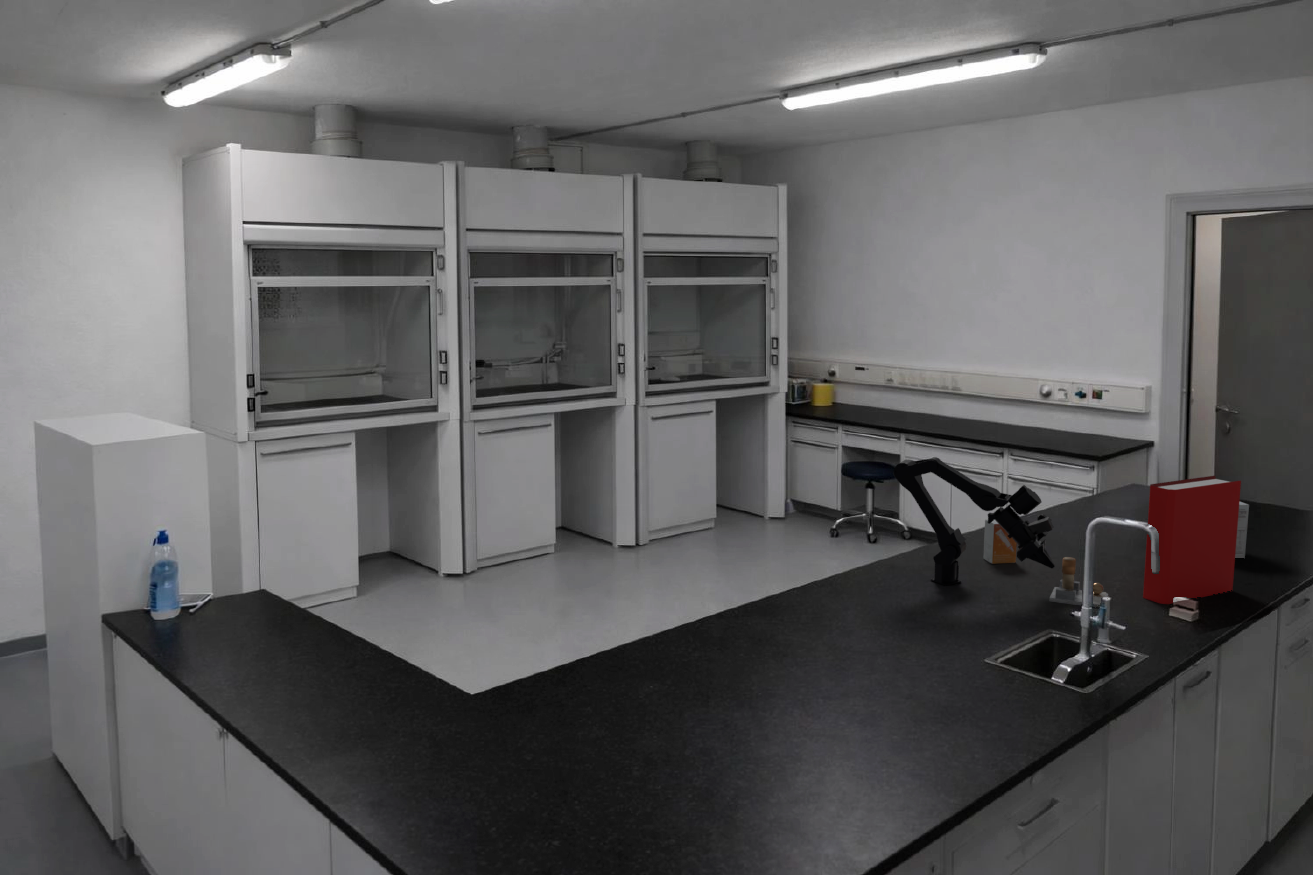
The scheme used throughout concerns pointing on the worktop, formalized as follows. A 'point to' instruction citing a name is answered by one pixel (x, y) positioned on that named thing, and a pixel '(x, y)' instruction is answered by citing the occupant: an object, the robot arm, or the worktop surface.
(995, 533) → the small box
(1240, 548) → the supplement box
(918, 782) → the worktop surface
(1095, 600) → the nutcracker base
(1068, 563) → the lever
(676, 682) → the worktop surface
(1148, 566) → the book
